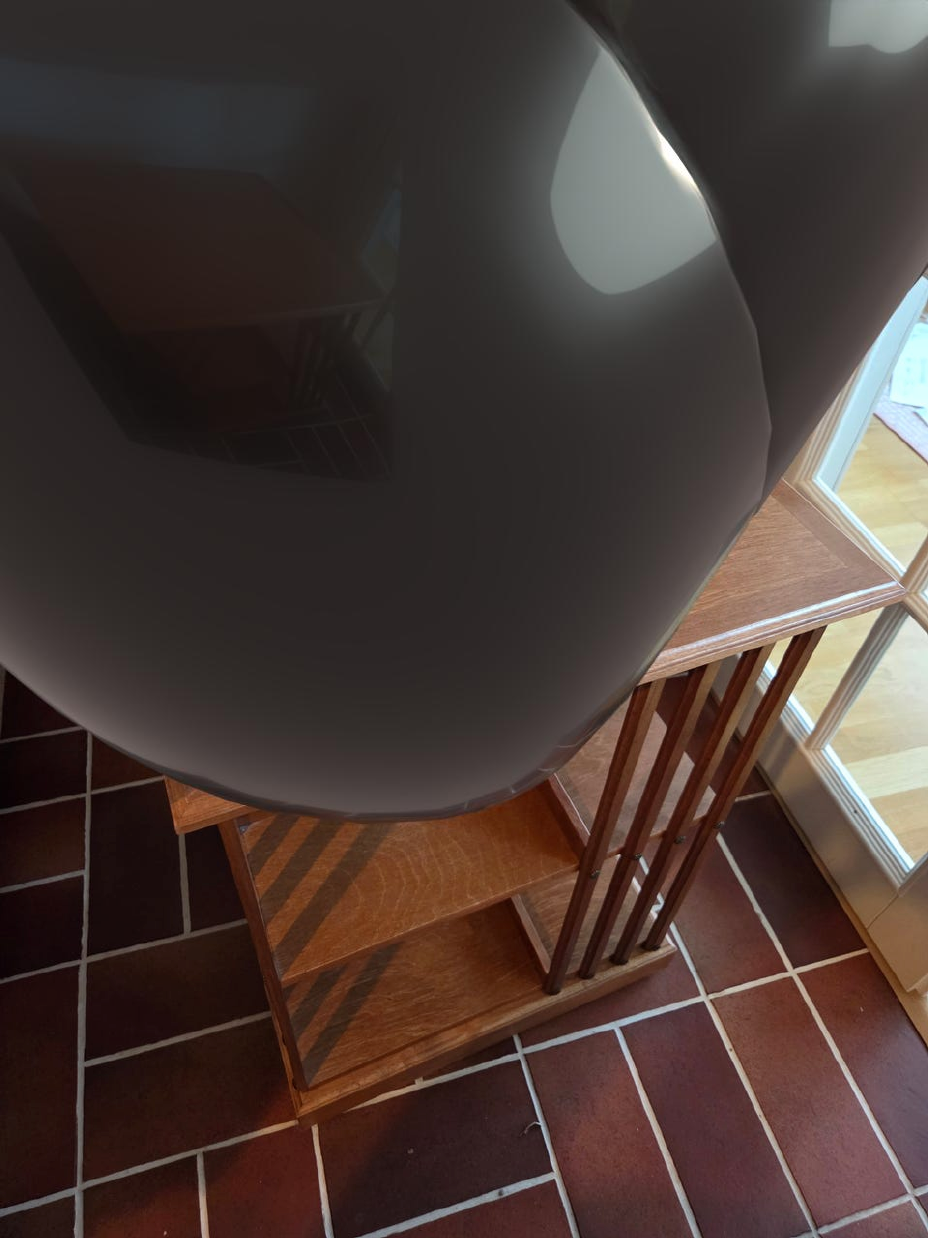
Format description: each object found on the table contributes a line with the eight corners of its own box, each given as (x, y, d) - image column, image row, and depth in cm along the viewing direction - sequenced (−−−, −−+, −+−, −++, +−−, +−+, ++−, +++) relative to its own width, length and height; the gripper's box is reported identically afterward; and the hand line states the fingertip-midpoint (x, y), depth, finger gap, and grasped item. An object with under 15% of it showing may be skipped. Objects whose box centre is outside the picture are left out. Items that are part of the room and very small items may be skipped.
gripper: (498, 344, 25) (386, 464, 40) (-28, 412, 21) (73, 517, 36) (553, 589, 25) (421, 615, 40) (41, 706, 21) (112, 685, 36)
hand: (257, 568), depth 38 cm, fingers open, 8 cm apart
